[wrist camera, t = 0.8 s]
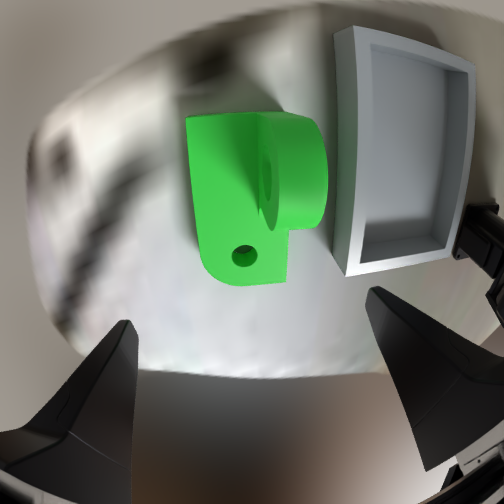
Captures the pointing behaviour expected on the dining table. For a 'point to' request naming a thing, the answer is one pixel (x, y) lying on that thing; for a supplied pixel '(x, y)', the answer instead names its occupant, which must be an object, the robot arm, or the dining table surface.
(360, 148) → the parts tray
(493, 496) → the robot arm
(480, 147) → the dining table surface
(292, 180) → the mechanical part
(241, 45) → the dining table surface
